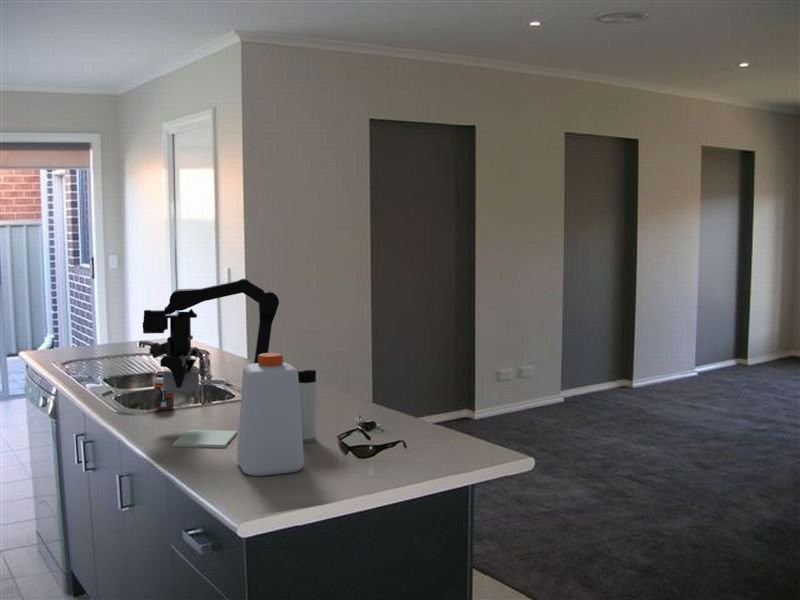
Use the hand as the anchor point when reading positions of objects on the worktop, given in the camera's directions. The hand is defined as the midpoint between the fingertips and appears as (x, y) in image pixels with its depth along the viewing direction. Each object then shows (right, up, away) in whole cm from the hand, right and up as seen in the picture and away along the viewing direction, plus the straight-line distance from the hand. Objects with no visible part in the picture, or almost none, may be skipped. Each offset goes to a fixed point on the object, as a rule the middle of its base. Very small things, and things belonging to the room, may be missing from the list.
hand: (181, 385), depth 228 cm
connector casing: (0, -1, 0) cm, 1 cm away
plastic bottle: (+32, -16, -35) cm, 50 cm away
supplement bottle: (-12, -10, +22) cm, 27 cm away
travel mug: (+38, -14, -12) cm, 42 cm away
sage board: (+11, -13, -13) cm, 21 cm away
